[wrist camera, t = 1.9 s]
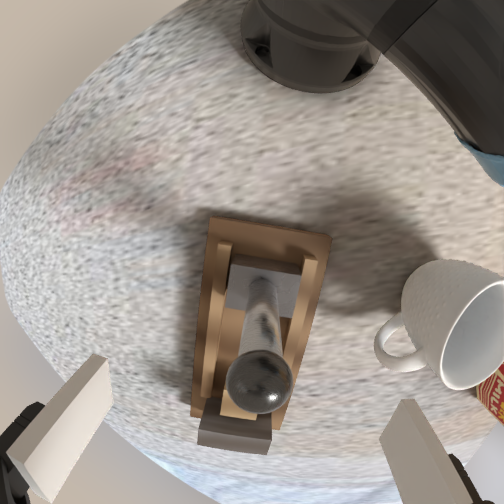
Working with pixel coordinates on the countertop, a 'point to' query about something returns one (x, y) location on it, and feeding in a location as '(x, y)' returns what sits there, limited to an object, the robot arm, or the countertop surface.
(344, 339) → the countertop surface
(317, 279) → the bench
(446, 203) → the countertop surface
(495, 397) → the milk carton
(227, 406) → the small wooden cube
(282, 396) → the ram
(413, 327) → the mug
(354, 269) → the countertop surface
